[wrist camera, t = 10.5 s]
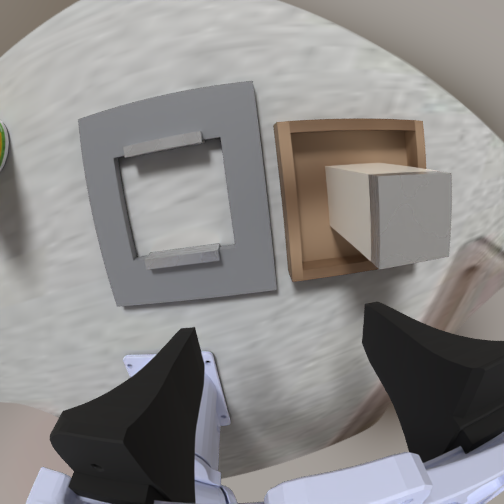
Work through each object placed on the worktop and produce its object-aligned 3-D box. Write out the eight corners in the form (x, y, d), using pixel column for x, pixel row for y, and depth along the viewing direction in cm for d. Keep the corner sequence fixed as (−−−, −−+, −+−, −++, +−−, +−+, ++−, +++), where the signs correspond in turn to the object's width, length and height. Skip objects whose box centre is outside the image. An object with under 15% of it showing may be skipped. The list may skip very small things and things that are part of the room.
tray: (411, 252, 21) (424, 261, 19) (288, 270, 21) (292, 281, 19) (408, 122, 18) (422, 120, 16) (273, 125, 18) (277, 122, 16)
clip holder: (275, 285, 22) (277, 294, 20) (120, 301, 22) (113, 310, 20) (252, 83, 17) (253, 78, 16) (83, 120, 17) (73, 118, 16)
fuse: (382, 219, 20) (448, 256, 12) (329, 225, 20) (379, 269, 12) (379, 162, 18) (451, 173, 11) (324, 166, 19) (377, 176, 11)
